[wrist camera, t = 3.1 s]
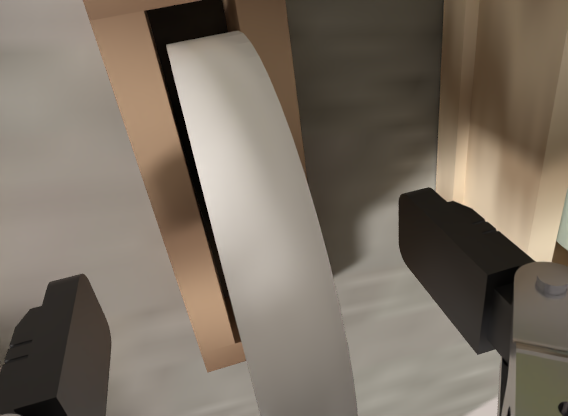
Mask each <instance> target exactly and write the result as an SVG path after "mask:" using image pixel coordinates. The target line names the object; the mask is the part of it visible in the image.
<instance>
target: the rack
mask: <svg viewBox="0 0 568 416" xmlns="http://www.w3.org/2000/svg"><path fill="white" fill-rule="evenodd" d="M567 188H568V0H444V12H443V35H442V58H441V81H440V104H439V127H438V150H437V173H436V192H437V193H438V194H439V195H440V196H441V197H442V198H443V199H444V200H446V201H447V202H449V201H455V202H458V203H460V204H462V205H465V206H467V207H470V208H472V209H473V210H474V211H476V212H477V213H478V214H479V215H480V216H482V217H483V218H484V219H485V221H486V222H489V223H490V224H491V225H492V226H494V227H495V228H496V231H500V232H501V233H502V234H503V235H504V236H506V237H507V238H508V239H509V240H510V241H512V242H513V243H514V244H515V245H516V246H518V247H519V248H520V249H521V250H522V251H524V252H525V253H526V254H527V255H528V256H530V257H531V258H532V259H533V260H534V261H536V262H553V263H558V264H562V265H565V266H567V267H568V251H567V250H566V249H565V248H564V247H563V246H561V245H560V244H559V243H558V242H557V241H556V239H557V234H558V230H559V225H560V220H561V216H562V211H563V207H564V202H565V197H566V193H567Z"/></svg>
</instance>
